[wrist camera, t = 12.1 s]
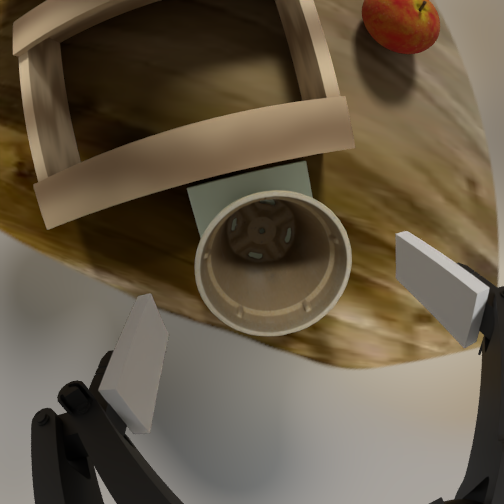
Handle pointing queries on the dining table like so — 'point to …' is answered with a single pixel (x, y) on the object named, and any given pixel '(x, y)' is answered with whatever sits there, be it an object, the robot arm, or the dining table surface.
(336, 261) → the flower pot
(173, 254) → the dining table surface
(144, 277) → the dining table surface
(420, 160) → the dining table surface
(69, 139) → the crate
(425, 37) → the fruit
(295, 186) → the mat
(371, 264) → the dining table surface
